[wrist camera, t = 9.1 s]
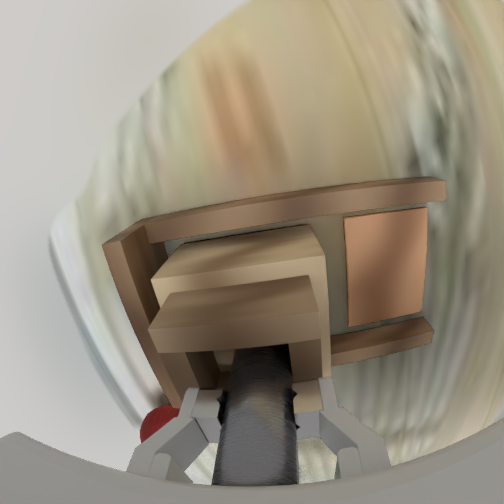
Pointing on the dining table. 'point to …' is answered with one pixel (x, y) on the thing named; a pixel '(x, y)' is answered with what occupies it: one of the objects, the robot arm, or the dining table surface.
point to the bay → (292, 208)
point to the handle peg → (258, 421)
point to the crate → (242, 305)
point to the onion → (157, 420)
